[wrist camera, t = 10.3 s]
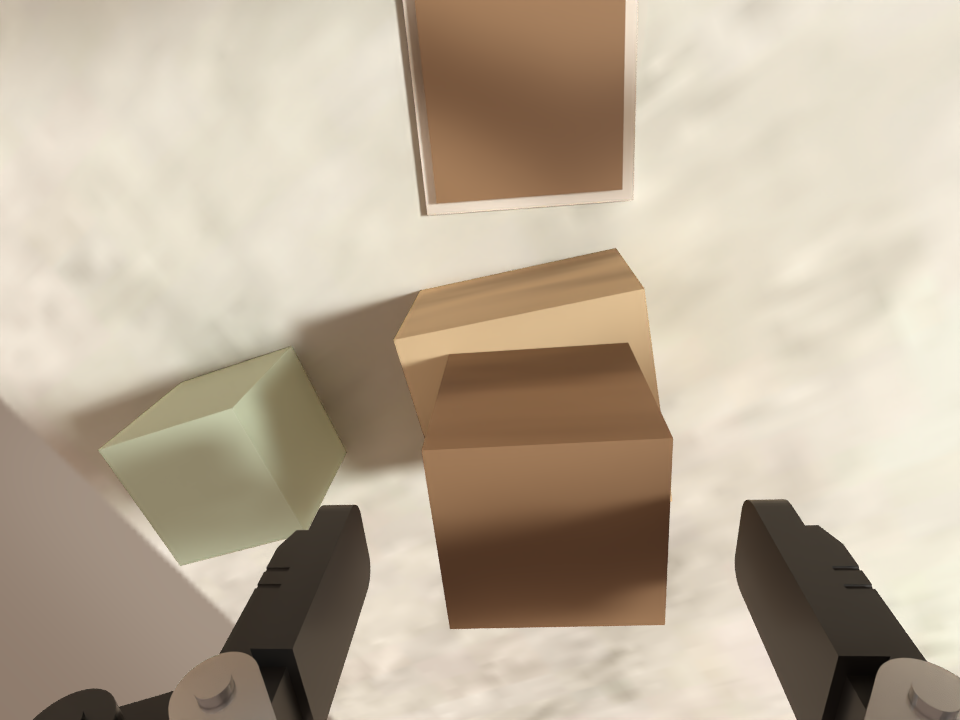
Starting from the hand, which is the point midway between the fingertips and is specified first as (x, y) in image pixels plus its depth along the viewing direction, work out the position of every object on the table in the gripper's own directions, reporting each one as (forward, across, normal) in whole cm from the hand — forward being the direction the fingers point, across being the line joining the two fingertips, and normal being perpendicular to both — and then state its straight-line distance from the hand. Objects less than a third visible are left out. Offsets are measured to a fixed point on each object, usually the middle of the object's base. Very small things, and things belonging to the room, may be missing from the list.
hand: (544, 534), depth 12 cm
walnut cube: (+5, 0, 0) cm, 5 cm away
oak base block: (+10, 0, 0) cm, 10 cm away
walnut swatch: (+10, 0, -8) cm, 13 cm away
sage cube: (+10, +11, +3) cm, 15 cm away
